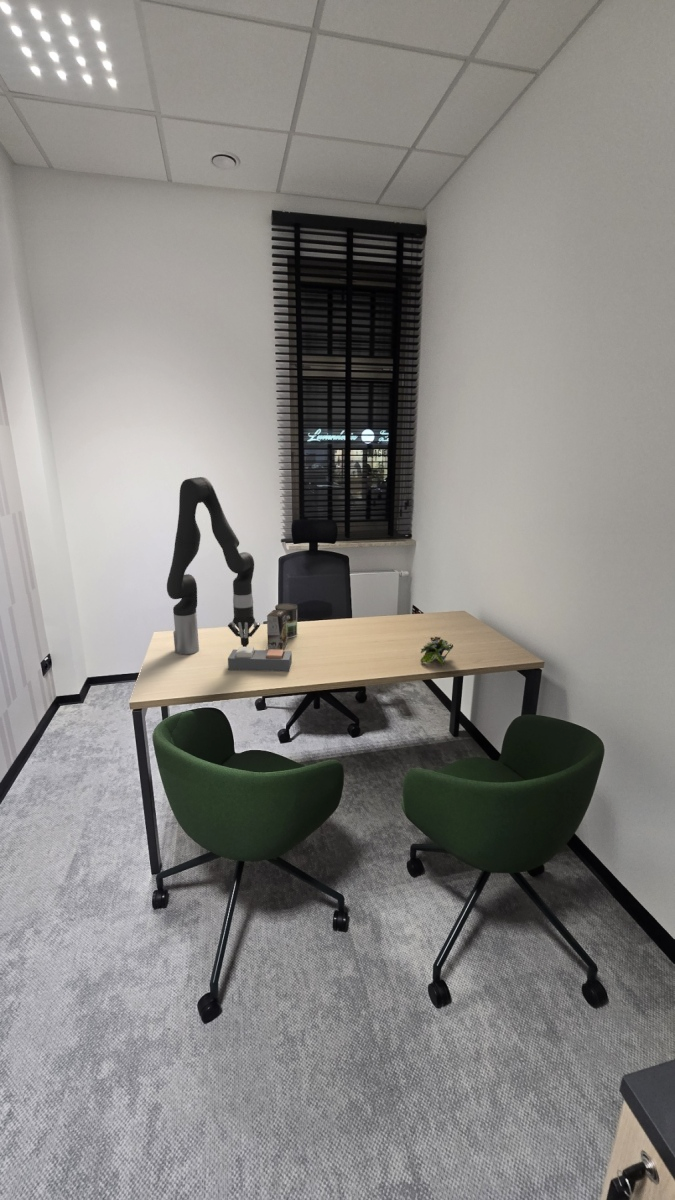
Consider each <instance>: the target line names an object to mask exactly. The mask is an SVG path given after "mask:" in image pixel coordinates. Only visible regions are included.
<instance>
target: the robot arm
mask: <svg viewBox="0 0 675 1200" xmlns="http://www.w3.org/2000/svg"><path fill="white" fill-rule="evenodd" d="M178 497H179V498H178V499H179V502H178V503H179V504H178V505H179V506H178V518H177V526H176V527H177V529H176V533H175V541H174V549H173V556H172V560H171V561H172V562H171V565H170V570H169V573H168V577H167V580H166V581H167V582H166V591H167V594H168V597H169V598H170V599H172V600H179V602H177V603H176V604H175V605H174V606H173V608H172V609H173V612H172V613H173V622H174V624H173V625H174V630H173V644H174V653H176V654H179V655H193V654H195V653H197V652H198V651H199V649H200V644H199V643H200V641H199V632H198V631H199V630H198V628H199V627H198V618H197V616H198V614H197V607H198V586H197V580H196V579H195V577H194V576H193V575H192V574H190V573H186V570H187V569H188V567H189V566H190V564H191V563H192V561H194V559H195V557H196V556H197V555H198V552H199V549H200V544H201V535H202V534H201V530H200V528H199V525H198V524H197V520H196V514H197V506H198V504H199V503H200V504H201V503H203V504H204V506H205V507H206V509H207V511H208V513H209V517H210V522H211V523H210V525H211V531H212V533H213V536H214V539H215V540H216V541H217V543H218V545H219V546H220V548H221V549H222V553H223V557H224V560H225V562H226V565H227V567H228V568H229V569H230V571H231V572H232V573H233V574H237V575H236V576H235V578H234V579H233V581H232V592H233V593H232V594H233V596H232V603H233V605H232V606H233V607H232V608H233V619H232V621H231V622H229V623H228V625H227V627H228V629H229V630H230V631H231V632H232V633H233V634H234V636H236V637H239V638H240V646H242V647H248V646H249V644H250V640H249V639H250V637H251V638H252V637H253V635H254V634H255V633H256V632H257V630H258V629H259V628H260V626H261V623H259V622H257V621H256V619H255V617H254V598H253V589H252V587H253V586H252V581H253V578H254V577H253V576H254V570H255V560H254V557H253V555H251V553H249V552H247V551H246V552H245V551H244V552H239V549H238V547H239V546H240V540H239V539H238V537H237V534H236V533H235V532H234V530H233V529H232V527H231V525H230V522H229V521H228V519H227V518H226V516H225V513H224V511H223V508H222V506H221V503H220V501H219V498H218V495H217V493H216V491H215V489H214V486H213V485H212V483H211V482H210V480H209V479H208V478H206V477H203V476H200V477H199V476H198V477H193V478H192V477H191V478H186V479H184V480H183V481H182V483H181V484H180V488H179V496H178ZM252 627H253V628H252ZM251 628H252V630H251V631H250V629H251Z"/></svg>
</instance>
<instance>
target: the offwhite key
mask: <svg viewBox="0 0 675 1200" xmlns="http://www.w3.org/2000/svg"><path fill="white" fill-rule="evenodd" d="M236 650H237V652H236V657H238V658H252V657H253V655H254V650H255V646H247V647H243V646H238V648H237V649H236Z"/></svg>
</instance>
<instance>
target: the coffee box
mask: <svg viewBox="0 0 675 1200" xmlns="http://www.w3.org/2000/svg"><path fill="white" fill-rule="evenodd" d="M266 624H267V625H266V626H267V631H266V633H267V650H269V649H275V650H285V647H286V646H287V645H288V638H287V611H286V610H276V609H273V610H271V612H269V613H268V614H267V616H266Z"/></svg>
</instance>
